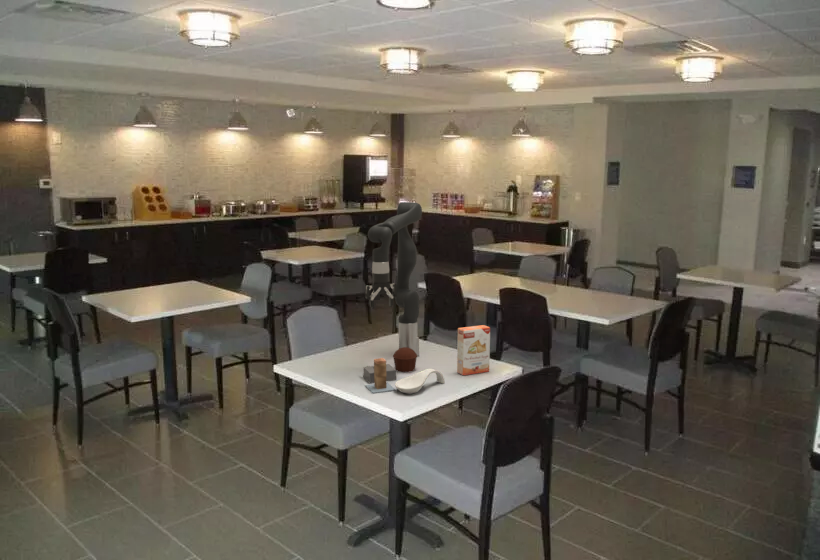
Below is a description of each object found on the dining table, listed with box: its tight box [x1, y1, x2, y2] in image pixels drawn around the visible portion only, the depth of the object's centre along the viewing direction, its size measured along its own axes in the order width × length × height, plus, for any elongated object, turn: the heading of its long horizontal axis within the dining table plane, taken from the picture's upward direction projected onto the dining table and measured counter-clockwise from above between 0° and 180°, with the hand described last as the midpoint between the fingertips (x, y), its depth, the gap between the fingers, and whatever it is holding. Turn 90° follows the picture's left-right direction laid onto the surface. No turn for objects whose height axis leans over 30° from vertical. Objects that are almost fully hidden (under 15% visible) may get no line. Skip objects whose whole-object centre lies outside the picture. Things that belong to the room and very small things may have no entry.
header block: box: [362, 363, 397, 384], centre depth 288 cm, size 12×10×4 cm
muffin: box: [392, 347, 418, 373], centre depth 301 cm, size 12×11×10 cm
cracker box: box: [456, 324, 491, 376], centre depth 294 cm, size 14×6×21 cm, turn 115°
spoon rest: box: [394, 368, 446, 394], centre depth 275 cm, size 24×12×7 cm, turn 130°
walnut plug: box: [373, 357, 387, 389], centre depth 274 cm, size 4×4×12 cm
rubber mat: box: [365, 381, 397, 394], centre depth 275 cm, size 10×10×1 cm
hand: (381, 307), depth 293 cm, fingers open, 8 cm apart
